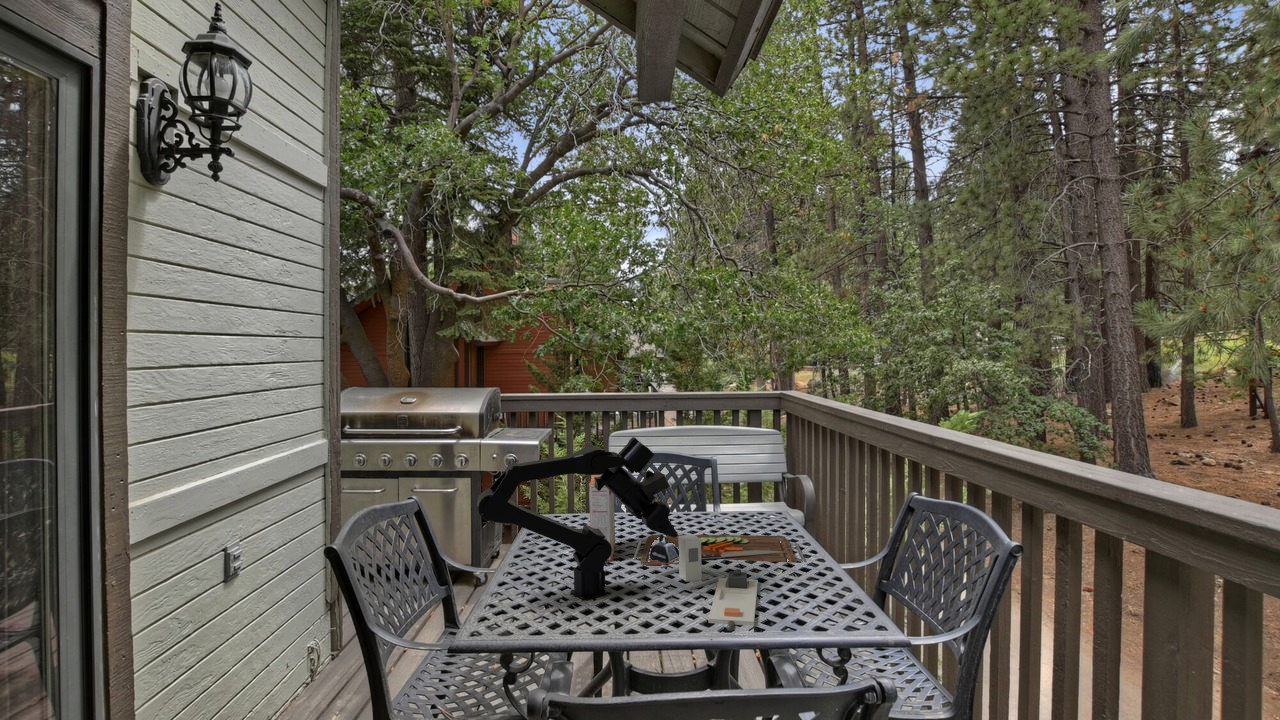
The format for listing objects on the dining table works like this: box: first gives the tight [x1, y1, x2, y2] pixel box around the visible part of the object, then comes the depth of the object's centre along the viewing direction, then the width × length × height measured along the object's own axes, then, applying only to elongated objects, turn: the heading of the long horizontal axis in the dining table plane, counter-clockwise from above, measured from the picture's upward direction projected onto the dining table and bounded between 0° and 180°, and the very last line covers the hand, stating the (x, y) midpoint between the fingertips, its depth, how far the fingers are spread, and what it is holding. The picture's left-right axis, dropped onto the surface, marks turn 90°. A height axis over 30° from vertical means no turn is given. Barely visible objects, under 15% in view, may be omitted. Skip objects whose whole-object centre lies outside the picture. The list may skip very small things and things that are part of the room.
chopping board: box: [632, 533, 807, 567], centre depth 184 cm, size 45×27×3 cm, turn 84°
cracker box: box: [588, 474, 616, 562], centre depth 184 cm, size 14×6×21 cm, turn 178°
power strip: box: [708, 577, 759, 632], centre depth 145 cm, size 27×9×2 cm, turn 168°
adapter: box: [678, 533, 703, 583], centre depth 162 cm, size 4×5×10 cm
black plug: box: [727, 568, 748, 589], centre depth 155 cm, size 4×4×4 cm
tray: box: [654, 566, 727, 591], centre depth 162 cm, size 12×12×1 cm
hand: (669, 531), depth 160 cm, fingers open, 9 cm apart
